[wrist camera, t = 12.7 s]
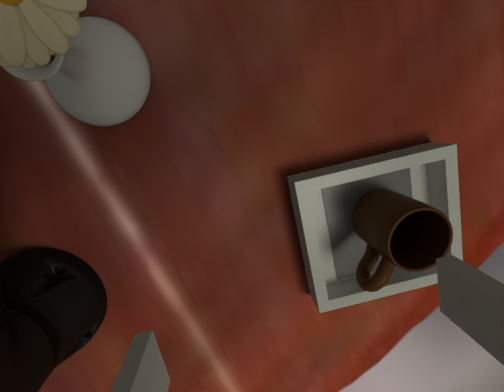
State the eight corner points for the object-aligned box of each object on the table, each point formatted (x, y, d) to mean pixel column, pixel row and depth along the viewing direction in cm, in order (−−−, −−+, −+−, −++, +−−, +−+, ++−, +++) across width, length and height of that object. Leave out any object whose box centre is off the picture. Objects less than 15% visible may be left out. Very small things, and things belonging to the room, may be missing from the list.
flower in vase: (100, 145, 36) (-152, 181, 12) (29, 62, 34) (-473, -102, 9) (184, 80, 36) (96, -20, 11) (119, -10, 33) (-180, -394, 9)
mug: (358, 275, 42) (395, 316, 33) (318, 247, 41) (344, 282, 31) (414, 208, 41) (469, 231, 31) (374, 176, 39) (419, 191, 30)
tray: (310, 294, 44) (319, 313, 39) (286, 176, 39) (294, 182, 35) (440, 261, 44) (463, 276, 40) (431, 142, 40) (456, 143, 35)
